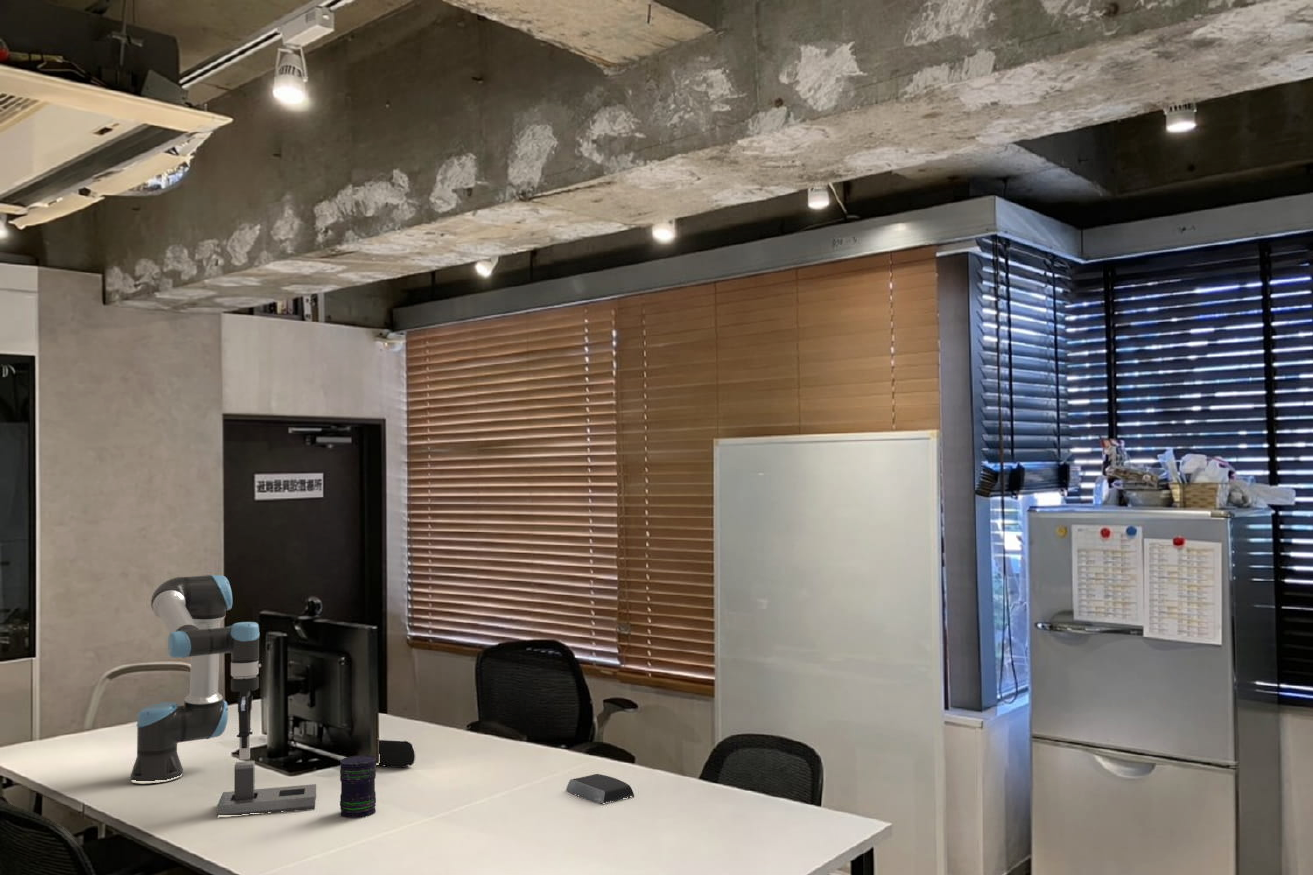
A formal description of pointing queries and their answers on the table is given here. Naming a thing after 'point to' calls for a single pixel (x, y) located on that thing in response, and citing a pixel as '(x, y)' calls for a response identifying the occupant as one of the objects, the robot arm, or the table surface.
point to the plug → (244, 780)
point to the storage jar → (357, 786)
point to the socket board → (269, 800)
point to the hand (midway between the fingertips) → (244, 758)
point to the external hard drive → (600, 788)
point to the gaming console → (396, 752)
